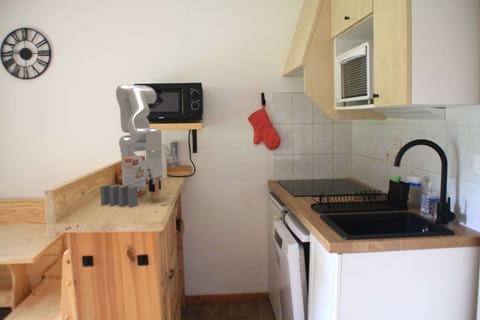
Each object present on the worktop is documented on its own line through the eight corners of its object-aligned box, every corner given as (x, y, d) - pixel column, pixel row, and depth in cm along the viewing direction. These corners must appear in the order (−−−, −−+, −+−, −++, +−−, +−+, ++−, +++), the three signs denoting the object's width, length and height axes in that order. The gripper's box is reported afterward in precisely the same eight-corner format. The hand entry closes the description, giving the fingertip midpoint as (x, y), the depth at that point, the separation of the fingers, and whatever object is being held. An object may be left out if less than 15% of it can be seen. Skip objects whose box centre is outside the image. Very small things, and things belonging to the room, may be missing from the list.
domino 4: (128, 206, 169) (127, 187, 168) (134, 204, 174) (133, 186, 173) (131, 207, 168) (131, 188, 167) (137, 204, 173) (137, 186, 172)
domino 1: (101, 205, 173) (100, 186, 172) (107, 202, 178) (107, 184, 177) (104, 205, 173) (103, 186, 172) (111, 203, 177) (110, 184, 177)
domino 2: (110, 205, 172) (109, 186, 171) (116, 203, 177) (115, 185, 176) (113, 205, 171) (112, 187, 170) (119, 203, 176) (119, 185, 175)
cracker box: (134, 198, 188) (133, 158, 186) (123, 197, 189) (122, 157, 187) (146, 193, 202) (145, 155, 200) (136, 192, 203) (135, 155, 201)
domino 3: (119, 206, 170) (118, 187, 169) (125, 204, 175) (124, 185, 174) (122, 206, 170) (121, 187, 169) (128, 204, 175) (128, 185, 174)
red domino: (150, 196, 179) (150, 178, 178) (156, 193, 184) (155, 176, 183) (154, 196, 179) (153, 178, 177) (159, 194, 183) (158, 176, 182)
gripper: (156, 152, 188) (157, 186, 190) (137, 155, 172) (138, 193, 174) (169, 152, 186) (169, 187, 188) (151, 156, 169) (152, 194, 172)
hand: (154, 190), depth 181 cm, fingers closed on red domino, 4 cm apart
